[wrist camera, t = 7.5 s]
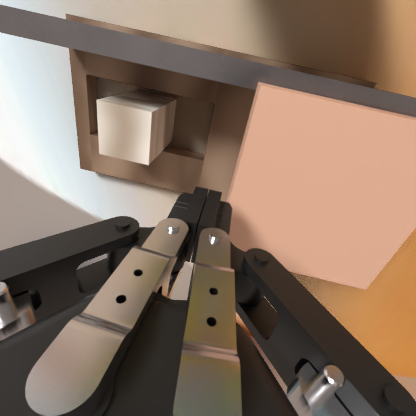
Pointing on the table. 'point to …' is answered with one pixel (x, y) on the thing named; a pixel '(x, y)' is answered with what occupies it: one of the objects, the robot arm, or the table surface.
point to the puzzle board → (179, 92)
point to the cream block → (135, 125)
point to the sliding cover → (324, 185)
